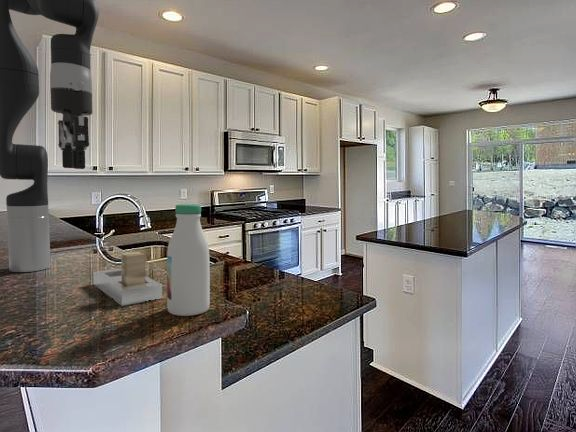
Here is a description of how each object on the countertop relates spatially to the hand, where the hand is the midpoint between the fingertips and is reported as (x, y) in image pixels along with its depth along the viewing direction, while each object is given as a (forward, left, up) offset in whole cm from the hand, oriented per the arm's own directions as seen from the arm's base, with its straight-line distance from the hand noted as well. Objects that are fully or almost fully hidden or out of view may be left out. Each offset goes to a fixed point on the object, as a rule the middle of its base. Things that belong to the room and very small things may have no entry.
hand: (73, 168), depth 80 cm
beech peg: (+11, +8, -27) cm, 30 cm away
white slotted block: (+6, +8, -27) cm, 29 cm away
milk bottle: (+26, +13, -27) cm, 40 cm away
